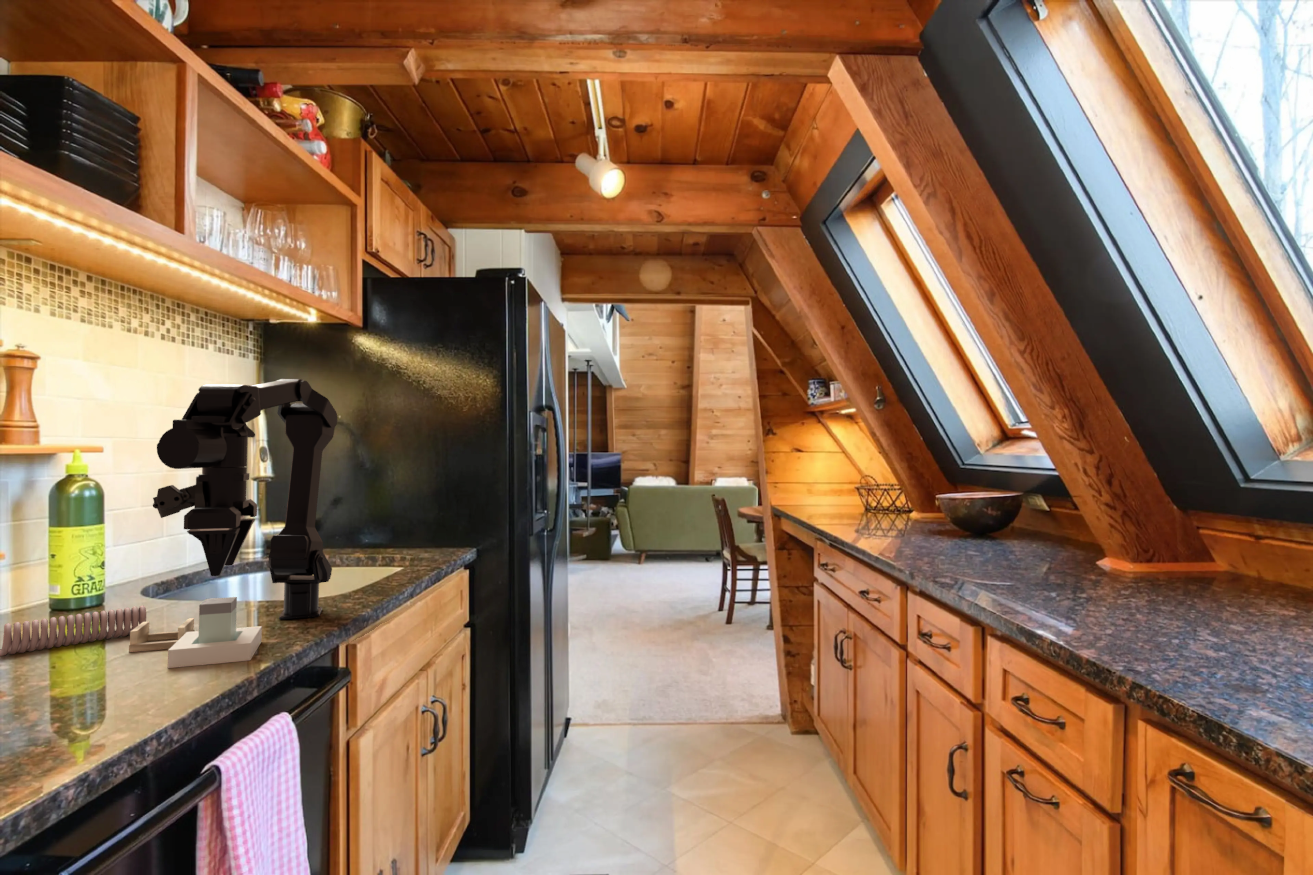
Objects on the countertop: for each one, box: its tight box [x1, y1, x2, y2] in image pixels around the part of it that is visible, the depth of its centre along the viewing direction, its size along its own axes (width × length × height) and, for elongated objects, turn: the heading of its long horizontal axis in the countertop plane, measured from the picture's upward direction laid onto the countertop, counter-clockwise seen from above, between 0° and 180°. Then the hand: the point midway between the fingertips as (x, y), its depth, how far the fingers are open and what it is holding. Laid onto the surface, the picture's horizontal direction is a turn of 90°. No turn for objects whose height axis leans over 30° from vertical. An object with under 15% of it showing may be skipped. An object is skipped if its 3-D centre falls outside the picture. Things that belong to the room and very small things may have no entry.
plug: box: [198, 596, 238, 644], centre depth 100 cm, size 4×4×8 cm
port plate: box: [167, 625, 263, 669], centre depth 100 cm, size 10×10×2 cm
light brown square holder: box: [128, 617, 195, 653], centre depth 104 cm, size 7×7×3 cm
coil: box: [0, 605, 147, 657], centre depth 105 cm, size 5×5×18 cm
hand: (222, 570), depth 100 cm, fingers open, 9 cm apart
